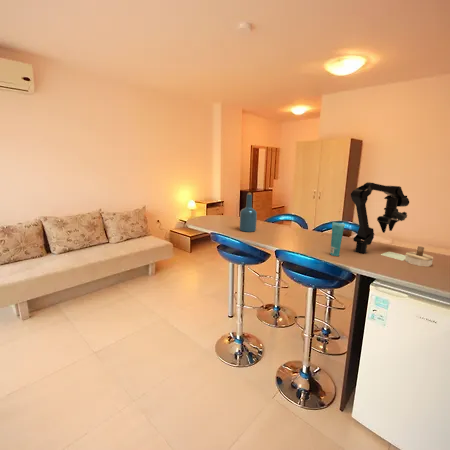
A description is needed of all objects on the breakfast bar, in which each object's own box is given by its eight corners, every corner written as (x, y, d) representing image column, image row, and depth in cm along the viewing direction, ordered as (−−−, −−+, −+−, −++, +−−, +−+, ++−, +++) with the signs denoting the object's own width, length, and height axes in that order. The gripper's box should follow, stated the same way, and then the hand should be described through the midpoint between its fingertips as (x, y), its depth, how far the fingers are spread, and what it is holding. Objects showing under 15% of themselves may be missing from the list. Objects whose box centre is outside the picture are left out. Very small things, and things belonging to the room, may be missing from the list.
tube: (342, 255, 153) (346, 223, 149) (339, 257, 149) (343, 224, 145) (329, 252, 158) (333, 221, 154) (326, 254, 154) (330, 222, 150)
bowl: (425, 268, 135) (427, 261, 135) (402, 262, 144) (403, 255, 143) (433, 264, 142) (435, 257, 141) (410, 258, 151) (411, 252, 150)
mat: (402, 261, 145) (402, 260, 145) (379, 255, 155) (379, 254, 155) (411, 257, 152) (411, 256, 152) (389, 252, 162) (389, 251, 162)
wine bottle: (255, 232, 201) (257, 193, 195) (238, 231, 203) (240, 193, 197) (256, 228, 214) (258, 192, 208) (240, 227, 216) (241, 191, 210)
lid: (428, 262, 134) (430, 252, 133) (402, 255, 143) (403, 246, 142) (436, 258, 141) (438, 248, 140) (410, 251, 150) (412, 242, 149)
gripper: (399, 209, 146) (394, 236, 150) (412, 207, 157) (408, 232, 161) (378, 207, 155) (374, 232, 159) (392, 205, 166) (388, 229, 169)
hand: (387, 231), depth 162 cm, fingers open, 9 cm apart
